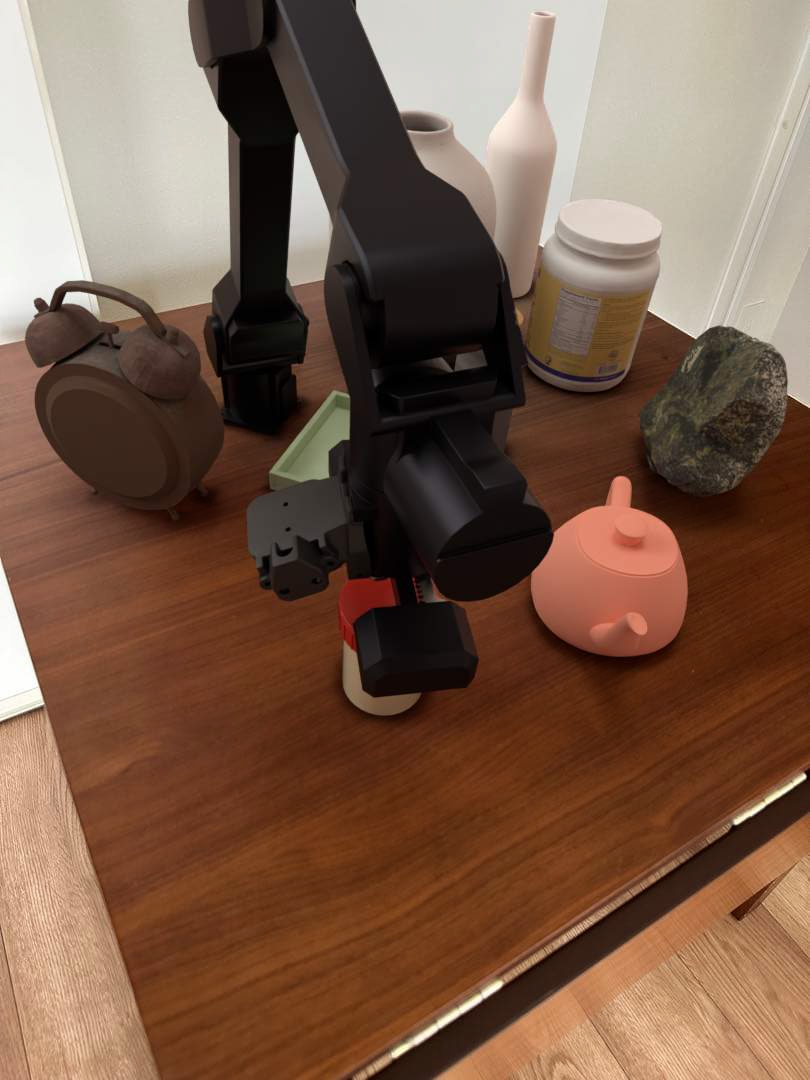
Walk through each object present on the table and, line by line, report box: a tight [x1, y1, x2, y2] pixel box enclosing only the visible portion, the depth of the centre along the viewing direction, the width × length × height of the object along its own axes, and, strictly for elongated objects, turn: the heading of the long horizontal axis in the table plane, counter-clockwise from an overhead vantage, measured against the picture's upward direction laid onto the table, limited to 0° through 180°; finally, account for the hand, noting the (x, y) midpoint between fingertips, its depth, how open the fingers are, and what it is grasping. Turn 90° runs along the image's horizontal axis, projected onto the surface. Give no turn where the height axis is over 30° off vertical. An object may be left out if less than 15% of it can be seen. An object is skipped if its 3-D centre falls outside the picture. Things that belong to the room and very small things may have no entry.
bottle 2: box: [453, 307, 524, 454], centre depth 71 cm, size 6×6×15 cm
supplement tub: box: [523, 198, 664, 393], centre depth 83 cm, size 12×12×17 cm
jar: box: [341, 639, 423, 716], centre depth 54 cm, size 6×6×8 cm
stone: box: [637, 324, 789, 498], centre depth 70 cm, size 15×10×15 cm
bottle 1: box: [483, 10, 558, 299], centre depth 91 cm, size 8×8×30 cm
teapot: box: [530, 475, 689, 658], centre depth 59 cm, size 12×18×10 cm
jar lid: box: [337, 578, 441, 652], centre depth 51 cm, size 7×7×2 cm
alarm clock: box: [24, 279, 225, 521], centre depth 62 cm, size 15×7×20 cm, turn 71°
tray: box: [268, 389, 350, 491], centre depth 74 cm, size 11×14×2 cm
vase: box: [328, 109, 497, 366], centre depth 81 cm, size 17×17×24 cm
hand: (386, 634), depth 53 cm, fingers closed on jar lid, 6 cm apart
